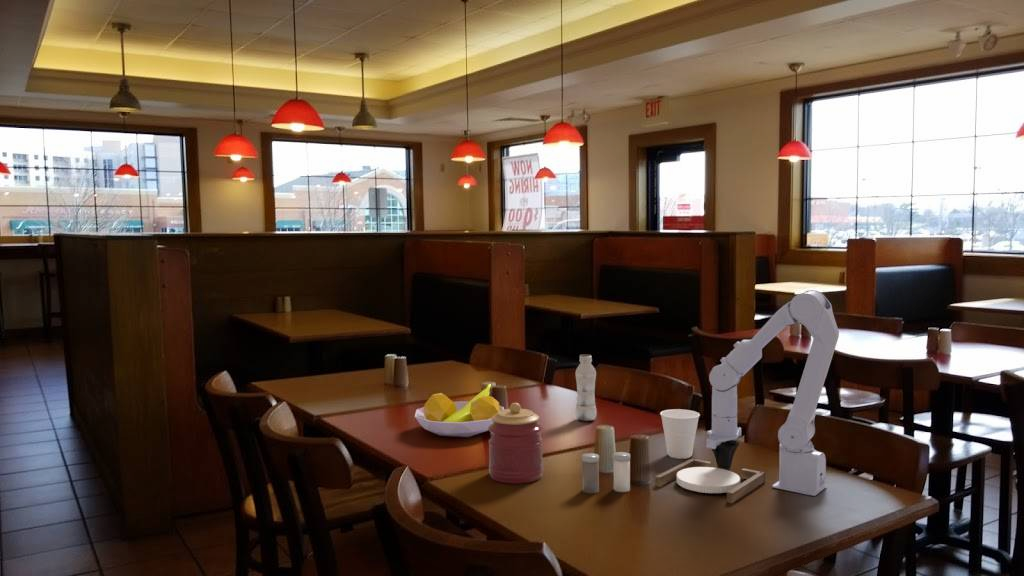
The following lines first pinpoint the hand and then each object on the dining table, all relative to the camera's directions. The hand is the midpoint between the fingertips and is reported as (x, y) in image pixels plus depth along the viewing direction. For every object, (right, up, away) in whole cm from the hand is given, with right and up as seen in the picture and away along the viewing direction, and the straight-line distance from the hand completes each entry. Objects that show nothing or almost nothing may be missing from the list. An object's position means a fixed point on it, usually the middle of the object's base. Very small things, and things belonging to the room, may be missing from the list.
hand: (724, 471), depth 184 cm
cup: (-7, 0, +17) cm, 18 cm away
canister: (-49, -2, +2) cm, 49 cm away
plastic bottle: (-27, +3, +55) cm, 61 cm away
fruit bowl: (-64, +1, +45) cm, 78 cm away
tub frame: (-5, -2, -6) cm, 8 cm away
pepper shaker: (-32, -2, -9) cm, 33 cm away
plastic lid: (-5, -2, -6) cm, 9 cm away
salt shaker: (-25, -2, -8) cm, 27 cm away
